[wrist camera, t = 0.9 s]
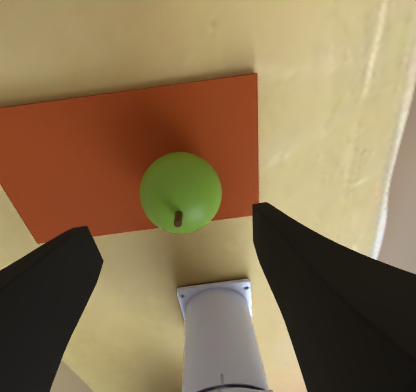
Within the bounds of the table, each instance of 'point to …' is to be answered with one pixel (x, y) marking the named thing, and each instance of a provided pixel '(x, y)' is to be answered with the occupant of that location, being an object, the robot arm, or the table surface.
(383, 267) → the robot arm
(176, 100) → the cloth
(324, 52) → the table surface
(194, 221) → the apple
